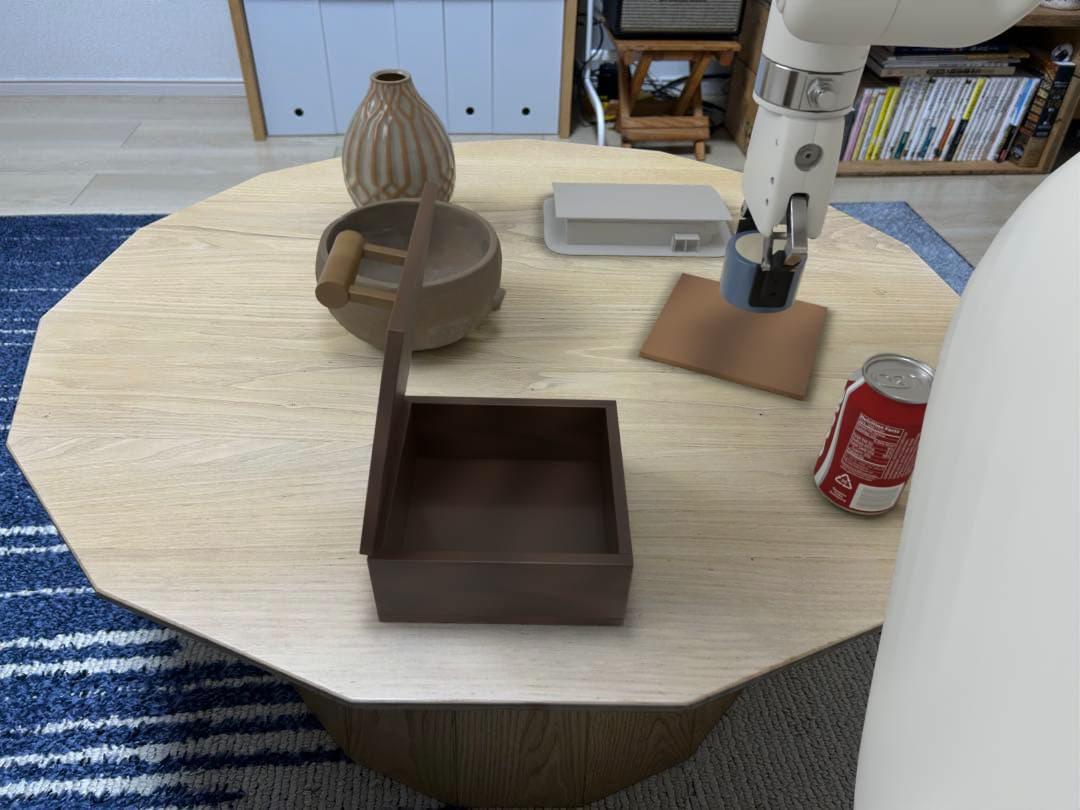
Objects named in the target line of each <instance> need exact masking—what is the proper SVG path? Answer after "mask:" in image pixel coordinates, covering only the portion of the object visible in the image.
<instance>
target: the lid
mask: <svg viewBox="0 0 1080 810" xmlns="http://www.w3.org/2000/svg"><path fill="white" fill-rule="evenodd" d="M437 189H438V184H437V183H433V182H428V181H426V182H425V186H424V190H423V194H422V198H421V201H420V205H419V209H418V213H417V217H416V221H415V224H414V228H413V232H412V236H411V240H410V244H409V248H408V251H407V252H406V251H401V250H396V249H391V248H386V247H382V246H377V245H372V244H367V243H366V242H365V239H364V238H363V237H362V236H361V235H360V234H359V233H357V232H355V231H351V230H346V231H343V232H341V233H339V234H338V235H337V237H336V239H335V242H334V244H333V247H332V249H331V252H330V254H329V257H328V259H327V262H326V264H325V266H324V269H323V271H322V274H321V276H320V279H319V281H318V284H317V283H316V287H315V289H314V295H315V298H316V300H317V302H318V303H320V304H321V305H322V306H324V307H325V308H327V309H328V308H331V309H339V308H342V307H344V306H345V305H346V304H347V303H348V302H352V303H358V304H363V305H368V306H373V307H378V308H384V309H389V310H392V313H391V317H390V321H389V325H388V328H387V335H386V343H385V349H384V352H383V360H382V367H381V377H380V383H379V390H378V392H379V393H378V400H377V408H376V415H375V417H376V418H375V424H374V430H373V431H374V432H373V440H372V447H371V455H370V463H369V472H368V480H367V487H366V493H365V494H366V495H365V504H364V511H363V518H362V528H361V534H360V543H359V549H358V554H359V555H362V556H367V555H368V556H371V555H372V553H373V548H374V543H375V538H376V533H377V528H378V524H379V519H380V514H381V509H382V504H383V499H384V495H385V490H386V485H387V480H388V475H389V471H390V466H391V461H392V456H393V451H394V446H395V442H396V437H397V432H398V427H399V422H400V418H401V413H402V408H403V403H404V398H405V396H406V393H407V387H408V380H409V374H410V367H411V362H412V356H413V355H412V354H413V351H412V349H413V343H414V336H415V330H416V324H417V317H418V311H419V304H420V298H421V292H422V285H423V279H424V272H425V266H426V260H427V253H428V247H429V240H430V234H431V228H432V221H433V215H434V208H435V202H436V196H437ZM362 259H368V260H373V261H378V262H383V263H388V264H393V265H398V266H403V271H402V275H401V278H400V282H399V286H398V290H397V294H394V293H389V292H383V291H378V290H373V289H368V288H363V287H358V286H354V283H355V280H356V277H357V274H358V271H359V268H360V265H361V262H362Z"/></svg>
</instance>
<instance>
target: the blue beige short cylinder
mask: <svg viewBox="0 0 1080 810" xmlns="http://www.w3.org/2000/svg"><path fill="white" fill-rule="evenodd" d="M763 240H764V236H763V235H762V234H761V233H760V232H759V230H750V231H744V232H740V233H738V234H736V233H735V234H734V235H732V237H731V238H730V239H729V241H728V243H727V248H726V253H725V256H724V258H723V263H722V268H721V272H720V277H719V292H720V294H721V296H722V297H723V298H724V299H725V300H726V301H727V302H729V303H730V304H732V305H734V306H735V307H738V308H740V309H743V310H746V311H750V312H755V313H777V312H781V311H784V310H786V309H788V308H790V307H791V306H792V305H793V304H794V302H795V300H797V296H798V292H799V289H800V285H801V282H802V278H803V276H804V273H805V268H806V265H807V262H808V259H809V254H808V252H807V255H806V256H805V257H804V258H803V259H802V261H801V262H800V263H799V265H798V268H797V271H796V272H795V273H794V276H793V280H792V283H791V287H790V290H789V294H788V297H787V301H786V304H785V306H784V307H782V308H767V307H750V306H749V303H748V297H749V293H750V289H751V285H752V281H753V277H754V273H755V269H756V265H757V264H761V261H762V251H763ZM786 242H787V240H774V245H773V254H774V253H776V252H777V251H778V250H783V249H784V247H785V245H786Z"/></svg>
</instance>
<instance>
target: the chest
mask: <svg viewBox="0 0 1080 810" xmlns="http://www.w3.org/2000/svg"><path fill="white" fill-rule="evenodd" d="M621 441H622V440H621V432H620V422H619V413H618V404H617V400H616V399H586V398H585V399H580V398H577V399H576V398H539V397H538V398H536V397H535V398H533V397H531V398H530V397H492V396H491V397H489V396H488V397H487V396H451V395H450V396H448V395H446V396H445V395H405V398H404V403H403V408H402V413H401V418H400V422H399V427H398V432H397V437H396V442H395V446H394V451H393V456H392V461H391V466H390V471H389V475H388V480H387V485H386V490H385V495H384V499H383V504H382V509H381V514H380V519H379V524H378V528H377V533H376V538H375V543H374V548H373V553H372V555H371V556H368V555H366V564H367V569H368V574H369V580H370V583H371V589H372V593H373V599H374V604H375V609H376V614H377V618H378V622H390V623H391V622H393V623H439V624H441V623H442V624H443V623H445V624H449V623H450V624H451V623H452V624H496V625H497V624H498V625H499V624H503V625H552V626H553V625H555V626H557V625H558V626H614V627H615V626H616V627H617V626H618V627H623V626H624V623H625V617H626V611H627V606H628V601H629V594H630V590H631V589H630V588H631V583H632V578H633V572H634V567H635V565H634V564H635V563H634V556H633V555H634V553H633V543H632V535H631V526H630V517H629V516H630V515H629V506H628V496H627V487H626V477H625V468H624V460H623V459H624V458H623V451H622V442H621Z"/></svg>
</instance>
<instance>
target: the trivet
mask: <svg viewBox="0 0 1080 810" xmlns="http://www.w3.org/2000/svg"><path fill="white" fill-rule="evenodd" d="M719 282H720V280H719V281H718V280H715V279H711V278H706V277H703V276H698V275H693V274H691V273H690V274H689V273H685V272H682V273H681V274H680V276H679V278H678V280H677V281H676V283H675V286H674V287H673V289H672V291H671V293H670V295H669V297H668V298H667V300H666V302H665V304H664V305H663V308H662V309H661V311H660V313H659V315H658V317H657V318H656V320H655V322H654V324H653V326H652V327H651V329H650V331H649V333H648V334H647V336H646V338H645V340H644V342H643V344H642V346H641V347H640V349H639V351H638V356H639V357H642V358H645V359H649V360H654V361H656V362H660V363H664V364H667V365H671V366H675V367H677V368H678V367H679V368H682V369H687V370H690V371H694V372H697V373H701V374H703V375H708V376H711V377H715V378H718V379H722V380H726V381H729V382H734V383H736V384H737V383H738V384H741V385H745V386H748V387H752V388H755V389H759V390H762V391H766V392H769V393H774V394H776V395H781V396H785V397H788V398H791V399H795V400H798V401H804V400H805V397H806V393H807V390H808V386H809V381H810V378H811V374H812V369H813V367H814V362H815V359H816V355H817V351H818V347H819V342H820V339H821V335H822V332H823V328H824V324H825V319H826V316H827V312H828V307H827V306H823V305H819V304H816V303H812V302H807V301H804V300H803V301H802V300H798V299H796V300H795V302H794V304H793V305H792V306H791V307H790V308H788V309H786V310H784V311H781V312H777V313H755V312H750V311H746V310H743V309H740V308H738V307H735V306H734V305H732V304H730V303H729V302H727V301H726V300H725V299H724V298H723V297H722V296H721V294H720V292H719Z"/></svg>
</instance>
